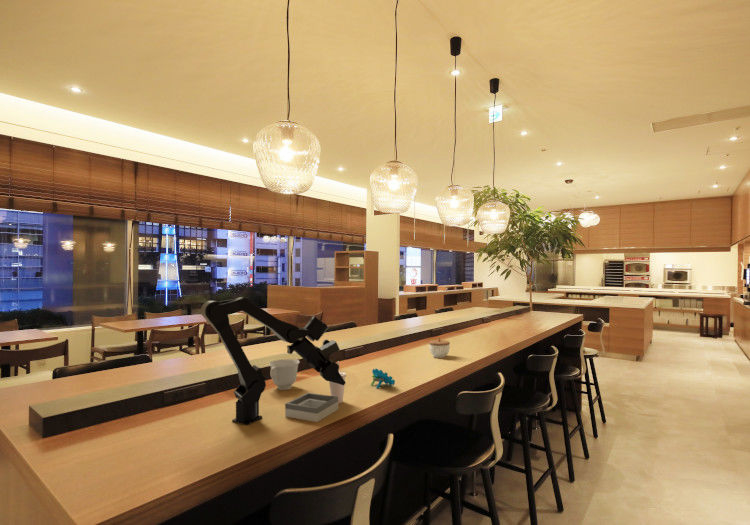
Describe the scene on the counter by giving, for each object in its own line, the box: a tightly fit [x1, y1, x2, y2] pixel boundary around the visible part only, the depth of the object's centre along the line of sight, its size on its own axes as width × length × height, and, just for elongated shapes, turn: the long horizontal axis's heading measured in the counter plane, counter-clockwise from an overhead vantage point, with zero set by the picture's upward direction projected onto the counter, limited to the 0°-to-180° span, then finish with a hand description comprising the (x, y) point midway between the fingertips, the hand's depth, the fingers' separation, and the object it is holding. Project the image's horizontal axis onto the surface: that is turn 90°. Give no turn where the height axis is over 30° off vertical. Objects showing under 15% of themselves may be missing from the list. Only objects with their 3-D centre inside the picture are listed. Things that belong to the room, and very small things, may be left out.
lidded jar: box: [428, 338, 451, 359], centre depth 203 cm, size 11×11×9 cm
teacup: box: [268, 358, 301, 391], centre depth 151 cm, size 12×15×10 cm
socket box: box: [284, 392, 339, 423], centre depth 125 cm, size 12×12×4 cm
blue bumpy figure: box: [370, 368, 396, 389], centre depth 151 cm, size 11×6×10 cm
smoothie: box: [328, 360, 347, 405], centre depth 135 cm, size 6×6×14 cm
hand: (340, 380), depth 135 cm, fingers open, 9 cm apart
